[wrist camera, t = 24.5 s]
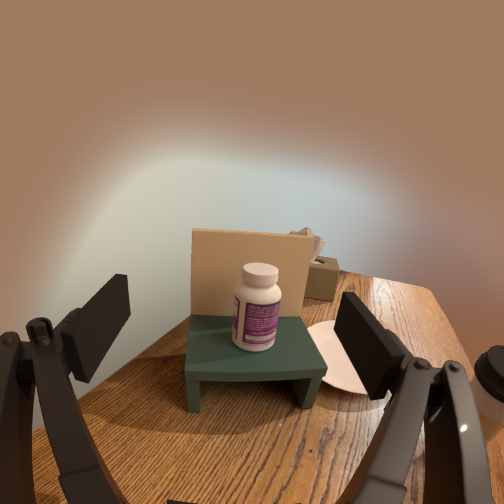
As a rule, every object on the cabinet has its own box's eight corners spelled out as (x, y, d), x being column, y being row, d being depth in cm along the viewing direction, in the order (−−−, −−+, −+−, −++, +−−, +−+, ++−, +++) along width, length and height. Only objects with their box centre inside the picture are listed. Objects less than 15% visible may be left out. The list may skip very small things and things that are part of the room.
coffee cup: (431, 486, 16) (510, 397, 12) (414, 432, 25) (469, 342, 21) (482, 467, 15) (551, 381, 11) (462, 423, 24) (513, 339, 20)
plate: (332, 318, 56) (334, 309, 55) (420, 356, 42) (424, 346, 41) (268, 361, 41) (270, 350, 40) (385, 425, 27) (391, 414, 27)
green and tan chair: (187, 415, 28) (181, 262, 23) (191, 352, 41) (193, 228, 35) (312, 410, 31) (355, 270, 25) (289, 353, 43) (311, 235, 38)
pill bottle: (281, 338, 34) (293, 268, 31) (260, 359, 29) (270, 281, 27) (246, 324, 36) (253, 257, 34) (222, 341, 32) (226, 267, 29)
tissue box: (332, 286, 73) (342, 230, 68) (334, 302, 63) (347, 238, 59) (264, 276, 76) (271, 219, 71) (258, 290, 67) (265, 226, 62)
